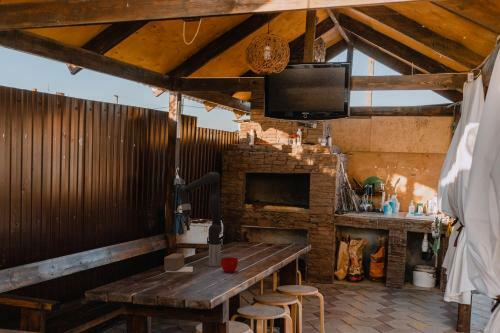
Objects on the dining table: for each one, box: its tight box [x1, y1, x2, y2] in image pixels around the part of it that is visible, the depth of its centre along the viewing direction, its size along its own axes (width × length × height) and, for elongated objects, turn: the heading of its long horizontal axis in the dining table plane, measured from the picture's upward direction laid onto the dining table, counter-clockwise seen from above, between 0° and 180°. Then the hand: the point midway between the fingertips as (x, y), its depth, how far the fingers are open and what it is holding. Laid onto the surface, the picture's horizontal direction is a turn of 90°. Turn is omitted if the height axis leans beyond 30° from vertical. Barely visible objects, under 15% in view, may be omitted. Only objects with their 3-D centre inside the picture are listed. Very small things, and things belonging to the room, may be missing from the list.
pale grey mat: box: [165, 266, 194, 273], centre depth 391 cm, size 20×19×1 cm
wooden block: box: [163, 252, 185, 271], centre depth 393 cm, size 10×10×20 cm
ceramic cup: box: [220, 256, 239, 274], centre depth 384 cm, size 13×17×10 cm
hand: (188, 230), depth 422 cm, fingers closed
